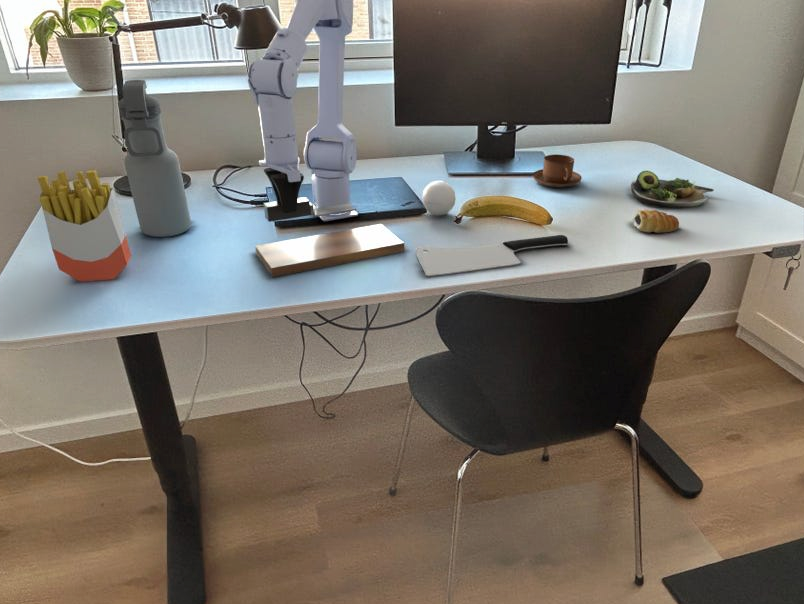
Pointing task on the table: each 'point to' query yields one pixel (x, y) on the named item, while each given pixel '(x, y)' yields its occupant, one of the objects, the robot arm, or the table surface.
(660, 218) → the pastry
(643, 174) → the salad plate
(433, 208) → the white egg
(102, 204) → the french fries container
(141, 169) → the water bottle
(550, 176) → the cup and saucer
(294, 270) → the cutting board
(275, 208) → the two-tone stepped block
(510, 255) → the kitchen cleaver
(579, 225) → the table surface
